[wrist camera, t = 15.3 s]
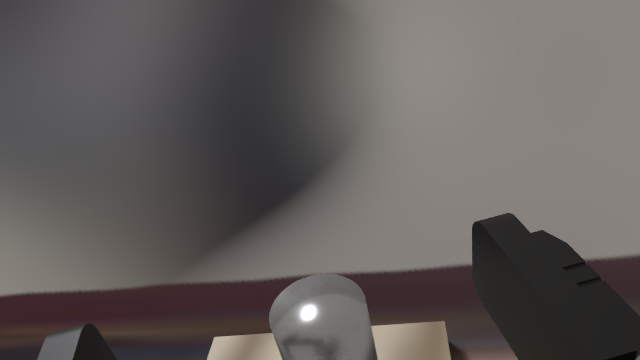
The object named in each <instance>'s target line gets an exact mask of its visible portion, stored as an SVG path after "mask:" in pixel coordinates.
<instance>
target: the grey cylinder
mask: <svg viewBox="0 0 640 360" xmlns="http://www.w3.org/2000/svg"><path fill="white" fill-rule="evenodd" d="M269 323H270V327H271V330H272V333H273V336H274V338H275V341H276V344H277V346H278V349H279V352H280V354H281V357H282V360H378V357H377V352H376V348H375V343H374V338H373V333H372V328H371V324H370V319H369V314H368V309H367V304H366V300H365V296H364V294H363V292H362V290H361V289H360V287H359V286H358V285H357V284H356V283H354V282H353V281H352V280H350V279H348V278H346V277H343V276H339V275H334V274H319V275H313V276H309V277H306V278H303V279H301V280H298V281H296V282H294V283H293V284H291V285H290V286H288V287H287V288H286V289H285V290H283V291H282V292H281V293H280V295H279V296H278V297H277V298H276V300H275V301H274V303H273V305H272V307H271V310H270V315H269Z"/></svg>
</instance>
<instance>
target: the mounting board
mask: <svg viewBox="0 0 640 360" xmlns="http://www.w3.org/2000/svg"><path fill="white" fill-rule="evenodd" d="M371 328H372V333H373V338H374V343H375V348H376V352H377V357H378V360H451V356H450V350H449V345H448V339H447V333H446V327H445V322H444V321H439V322H425V323H410V324H396V325H382V326H371ZM207 360H282V357H281V354H280V352H279V349H278V346H277V344H276V341H275V338H274V336H273V333H267V334H253V335H238V336H224V337H214V340H213V343H212V346H211V349H210V352H209V355H208V358H207Z"/></svg>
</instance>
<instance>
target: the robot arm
mask: <svg viewBox="0 0 640 360" xmlns="http://www.w3.org/2000/svg"><path fill="white" fill-rule="evenodd" d="M472 265H473V280H474V284H475V288H476V291H477V293H478V296H479V298H480V300H481V302H482V303H483V305H484V307H485V308H486V310H487V311H488V313H489V314H490V316H491V318H492V319H493V321H494V322H495V324H496V325H497V327H498V328H499V330H500V332H501V333H502V335H503V336H504V338H505V339H506V341H507V342H508V344H509V346H510V347H511V349H512V350H513V352H514V353H515V355H516V356H517V358H518V360H640V316H639V315H638V314H637V313H636V312H635V311H634V310H633V309H632V308H631V307H630V306H629V305H628V304H627V303H626V302H625V301H624V300H623V299H622V298H621V297H620V296H619V295H618V294H617V293H616V292H615V291H614V290H613V289H612V288H611V287H610V286H609V285H608V284H607V283H606V282H605V281H602V280H601V278H600V276H599V275H598V274H597V273H596V272H595V271H594V270H593V269H592V268H591V267H590V266H589V265H586V263H585V261H584V260H583V259H582V258H581V257H580V256H579V255H578V254H577V253H576V252H575V251H574V250H573V249H572V248H571V247H570V246H569V245H568V244H567V243H566V242H564V241H562V240H560V239H558V238H556V237H554V236H553V235H550V234H549V233H547V232H545V231H543V230H541V231H537V232H533V233H530V232H529V231H528V230H527V229H526V228H525V226H524V225H523V224H522V223H521V222H520V221H519V220H518V219H517V218H516V217H515V216H514V215H513V214H511V213H506V214H503V215H499V216H495V217H492V218H488V219H484V220H480V221H476V222H474V224H473V227H472ZM37 360H117V359H116V357H115V355H114V354H113V352H112V351H111V349H110V348H109V346H108V345H107V343H106V342H105V340H104V338H103V337H102V335H101V334H100V332H99V331H98V329H97V328H96V327H95V326H94V325H93V324H90V323H88V324H84V325H80V326H77V327H73V328H69V329H65V330H62V331H58V332H54V333H51V334H49V335H48V336H47V338H46V339H45V341H44V343H43V346H42V349H41V351H40V354H39V357H38V359H37Z"/></svg>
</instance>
